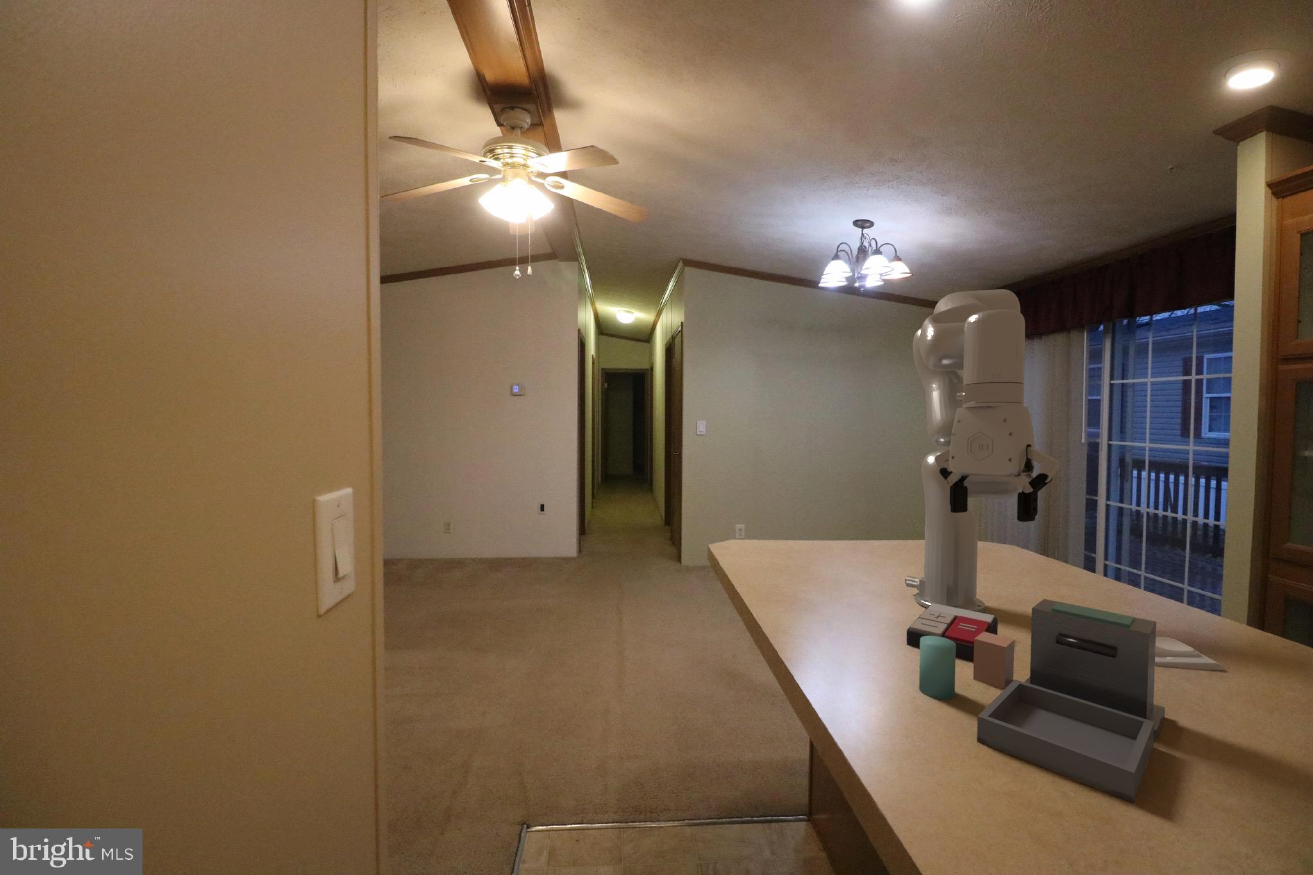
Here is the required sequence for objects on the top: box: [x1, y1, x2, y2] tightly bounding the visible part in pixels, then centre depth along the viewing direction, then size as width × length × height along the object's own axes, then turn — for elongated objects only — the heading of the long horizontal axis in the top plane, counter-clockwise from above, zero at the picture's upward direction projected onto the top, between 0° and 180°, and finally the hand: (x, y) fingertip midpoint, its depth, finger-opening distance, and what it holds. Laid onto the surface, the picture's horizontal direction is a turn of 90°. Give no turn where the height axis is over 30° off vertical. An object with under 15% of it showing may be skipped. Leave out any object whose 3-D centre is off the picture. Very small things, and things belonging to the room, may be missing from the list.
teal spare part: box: [918, 636, 956, 701], centre depth 77 cm, size 4×4×7 cm
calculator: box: [906, 603, 999, 663], centre depth 95 cm, size 11×4×15 cm
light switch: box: [1155, 635, 1224, 671], centre depth 91 cm, size 11×4×13 cm
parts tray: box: [976, 679, 1155, 804], centre depth 65 cm, size 14×14×3 cm
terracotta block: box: [972, 632, 1015, 690], centre depth 81 cm, size 4×4×6 cm
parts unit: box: [1024, 598, 1166, 742], centre depth 73 cm, size 14×8×12 cm, turn 42°
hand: (990, 516), depth 80 cm, fingers open, 9 cm apart
